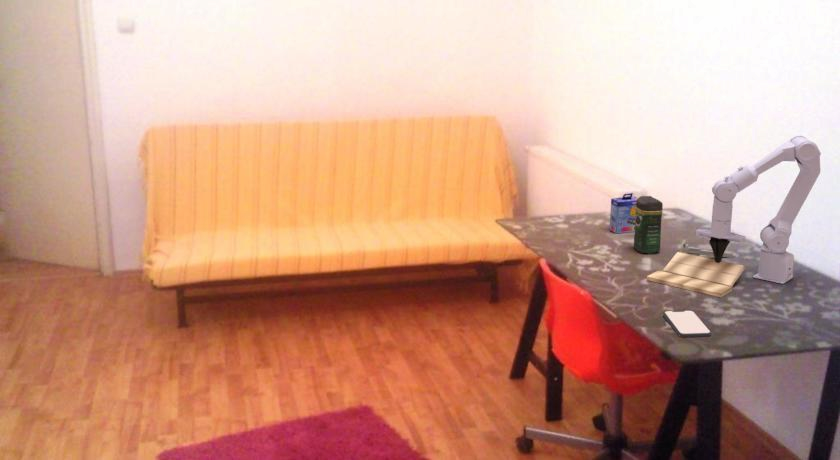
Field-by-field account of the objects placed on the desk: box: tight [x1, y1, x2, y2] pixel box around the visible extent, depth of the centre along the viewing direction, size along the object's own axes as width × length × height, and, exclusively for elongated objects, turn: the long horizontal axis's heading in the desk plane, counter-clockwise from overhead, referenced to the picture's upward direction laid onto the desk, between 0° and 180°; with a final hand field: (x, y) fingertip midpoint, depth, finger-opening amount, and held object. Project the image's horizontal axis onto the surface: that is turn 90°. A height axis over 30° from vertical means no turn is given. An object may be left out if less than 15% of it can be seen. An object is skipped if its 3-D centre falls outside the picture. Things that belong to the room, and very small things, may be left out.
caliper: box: [679, 243, 737, 259], centre depth 293 cm, size 20×1×6 cm, turn 103°
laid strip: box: [646, 269, 734, 298], centre depth 269 cm, size 24×8×1 cm, turn 47°
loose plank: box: [663, 251, 745, 287], centre depth 275 cm, size 22×10×1 cm, turn 47°
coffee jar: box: [633, 195, 664, 255], centre depth 301 cm, size 10×8×19 cm
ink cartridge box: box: [609, 192, 639, 234], centre depth 325 cm, size 10×6×14 cm, turn 107°
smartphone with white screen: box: [662, 310, 712, 338], centre depth 239 cm, size 9×2×16 cm
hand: (718, 261), depth 276 cm, fingers closed, pressing on loose plank
